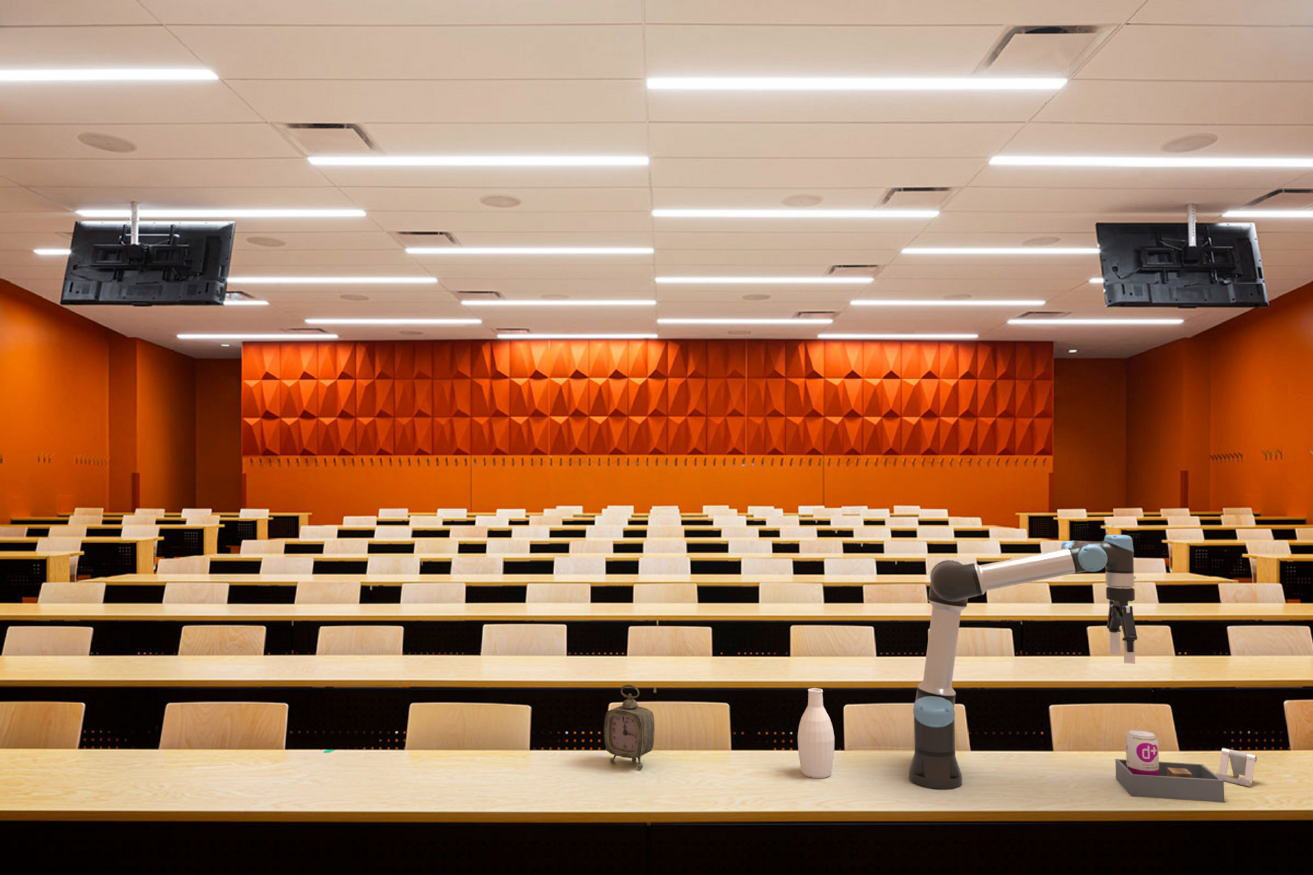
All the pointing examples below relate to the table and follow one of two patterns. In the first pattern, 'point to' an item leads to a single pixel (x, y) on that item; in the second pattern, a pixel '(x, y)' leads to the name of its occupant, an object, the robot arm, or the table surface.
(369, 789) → the table surface
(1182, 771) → the walnut cube
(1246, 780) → the portable electronic device stand
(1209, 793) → the tote
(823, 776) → the bottle
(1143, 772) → the supplement can
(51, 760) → the table surface
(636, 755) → the tabletop clock
